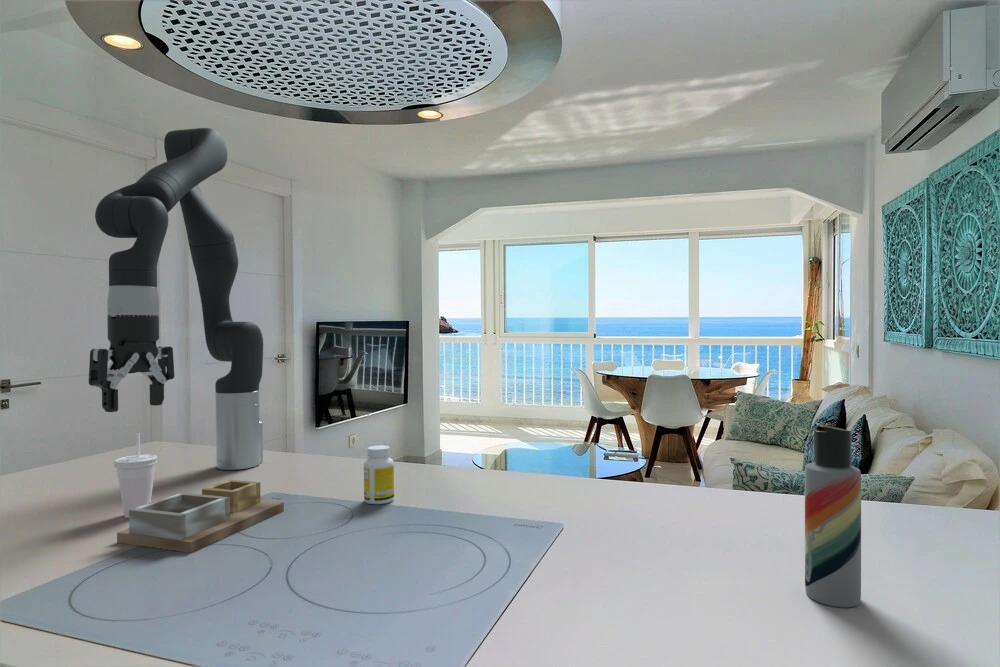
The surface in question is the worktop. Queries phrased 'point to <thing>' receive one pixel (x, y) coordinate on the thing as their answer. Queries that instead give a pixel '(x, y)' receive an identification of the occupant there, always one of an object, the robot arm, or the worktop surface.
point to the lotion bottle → (833, 521)
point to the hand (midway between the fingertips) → (134, 408)
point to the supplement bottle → (378, 476)
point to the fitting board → (198, 517)
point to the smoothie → (135, 478)
